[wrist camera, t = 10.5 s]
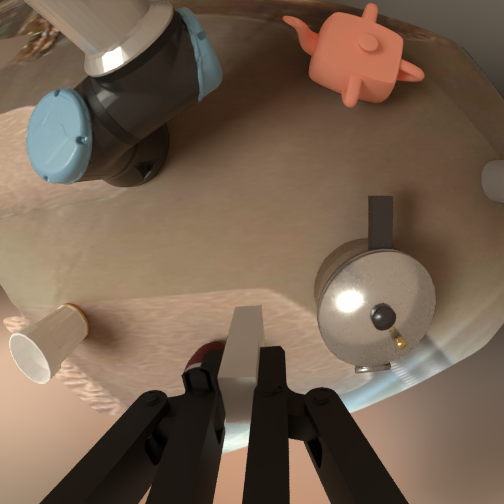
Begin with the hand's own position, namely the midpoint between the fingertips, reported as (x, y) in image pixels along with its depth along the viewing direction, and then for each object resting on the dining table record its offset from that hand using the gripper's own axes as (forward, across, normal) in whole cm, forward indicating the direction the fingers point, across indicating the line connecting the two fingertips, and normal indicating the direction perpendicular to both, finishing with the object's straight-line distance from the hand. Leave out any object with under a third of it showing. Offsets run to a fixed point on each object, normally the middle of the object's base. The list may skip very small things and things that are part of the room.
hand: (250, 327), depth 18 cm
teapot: (+36, +16, +26) cm, 47 cm away
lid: (+25, +17, -14) cm, 33 cm away
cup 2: (+35, +47, +6) cm, 59 cm away
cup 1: (+36, -44, -18) cm, 60 cm away
